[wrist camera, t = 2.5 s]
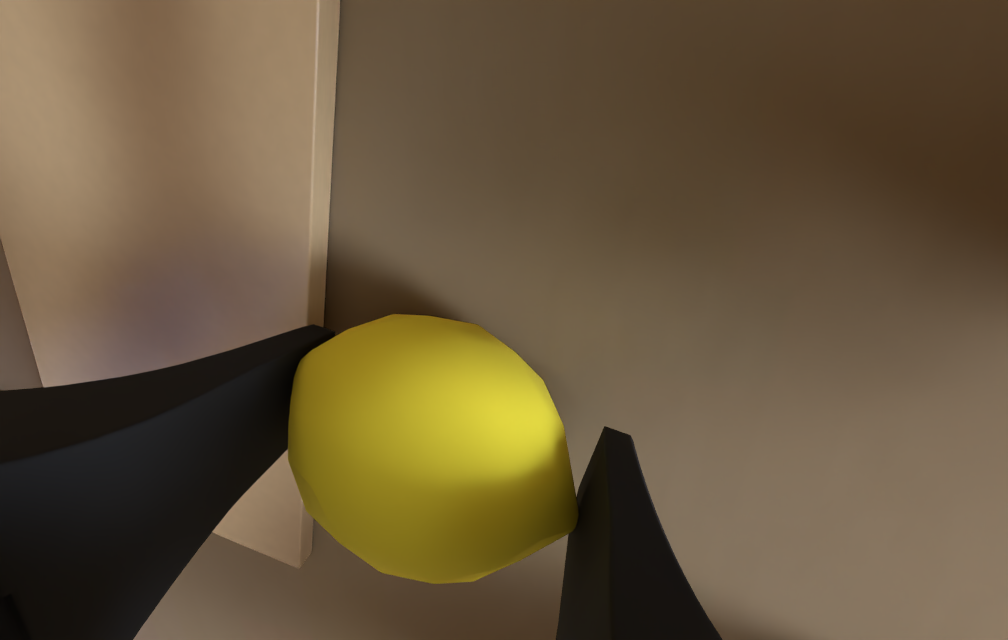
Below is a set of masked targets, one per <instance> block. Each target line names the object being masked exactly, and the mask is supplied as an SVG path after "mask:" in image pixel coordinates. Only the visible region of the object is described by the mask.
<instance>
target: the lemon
mask: <svg viewBox="0 0 1008 640" xmlns="http://www.w3.org/2000/svg"><path fill="white" fill-rule="evenodd" d="M288 461H289V464H290V467H291V470H292V473H293V475H294V478H295V481H296V484H297V487H298V489H299V492H300V495H301V498H302V501H303V503H304V506H305V509H306V511H307V512H308V513H309V514H310V515H311V516H312V517H313V518H314V519H315V520H316V521H317V522H318V523H319V524H320V525H321V526H322V527H323V528H324V529H325V530H326V531H327V532H328V533H329V534H331V535H332V536H333V537H334V538H335V539H336V540H337V541H338V542H339V543H340V544H341V545H343V546H344V547H346V548H347V549H349V550H350V551H351V552H353V553H354V554H356V555H357V556H358V557H360V558H361V559H363V560H364V561H365V562H367V563H368V564H370V565H371V566H372V567H374V568H375V569H377V570H378V571H379V572H381V573H385V574H390V575H394V576H399V577H404V578H408V579H413V580H418V581H422V582H427V583H432V584H441V583H458V582H473V581H475V580H477V579H480V578H482V577H484V576H486V575H489V574H491V573H493V572H495V571H498V570H500V569H502V568H504V567H507V566H509V565H511V564H513V563H516V562H518V561H520V560H522V559H524V558H525V557H527V556H529V555H531V554H533V553H534V552H536V551H538V550H540V549H542V548H544V547H545V546H547V545H549V544H551V543H553V542H554V541H556V540H558V539H560V538H562V537H563V536H565V535H567V534H569V533H571V532H572V531H573V530H574V529H575V527H576V524H577V520H578V515H579V513H578V505H577V499H576V494H575V488H574V482H573V476H572V470H571V465H570V459H569V453H568V447H567V442H566V436H565V430H564V426H563V423H562V421H561V419H560V417H559V414H558V412H557V410H556V408H555V405H554V403H553V401H552V399H551V397H550V394H549V392H548V390H547V388H546V385H545V383H544V381H543V380H542V379H541V378H540V377H539V376H538V375H537V374H536V373H535V372H534V371H533V370H532V369H531V367H530V366H529V365H528V364H527V363H526V362H525V361H524V360H523V359H522V358H521V357H520V356H519V355H518V354H517V353H516V352H515V351H513V350H512V349H510V348H509V347H508V346H506V345H505V344H504V343H502V342H501V341H500V340H498V339H497V338H495V337H494V336H493V335H491V334H490V333H489V332H487V331H486V330H484V329H483V328H482V327H480V326H479V325H477V324H472V323H466V322H461V321H455V320H450V319H444V318H439V317H433V316H424V315H403V314H392V315H389V316H386V317H383V318H380V319H377V320H374V321H371V322H368V323H365V324H362V325H359V326H356V327H353V328H350V329H347V330H346V331H344V332H342V333H340V334H339V335H337V336H335V337H333V338H332V339H330V340H328V341H327V342H325V343H323V344H321V345H320V346H318V347H316V348H314V349H313V350H311V351H310V352H309V353H308V354H307V355H305V356H304V357H303V358H302V359H301V360H300V362H299V364H298V367H297V370H296V373H295V375H294V379H293V387H292V394H291V401H290V413H289V424H288Z"/></svg>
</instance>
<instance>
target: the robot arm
mask: <svg viewBox="0 0 1008 640" xmlns="http://www.w3.org/2000/svg"><path fill="white" fill-rule="evenodd" d="M333 337H335V331H332V330H329V329H326V328H323V327H320V326H317V325H315V324H312V325H308V326H304V327H301V328H297V329H294V330H291V331H288V332H285V333H282V334H279V335H276V336H272V337H269V338H266V339H263V340H260V341H257V342H254V343H251V344H248V345H245V346H242V347H238V348H235V349H232V350H229V351H225V352H222V353H218V354H215V355H211V356H208V357H204V358H201V359H197V360H194V361H190V362H186V363H183V364H179V365H175V366H170V367H166V368H162V369H157V370H153V371H148V372H143V373H138V374H133V375H128V376H122V377H116V378H109V379H103V380H96V381H89V382H83V383H76V384H69V385H61V386H52V387H42V388H33V389H21V390H8V391H0V640H133V639H134V637H135V636H136V634H137V633H138V631H139V630H140V628H141V627H142V626H143V624H144V623H145V621H146V620H147V619H148V617H149V616H150V614H151V613H152V612H153V610H154V609H155V607H156V606H157V605H158V603H159V602H160V600H161V599H162V598H163V596H164V595H165V593H166V592H167V591H168V589H169V588H170V586H171V585H172V584H173V582H174V581H175V580H176V578H177V577H178V576H179V574H180V573H181V572H182V570H183V569H184V568H185V566H186V565H187V564H188V562H189V561H190V560H191V558H192V557H193V556H194V555H195V553H196V552H197V551H198V549H199V548H200V547H201V545H202V544H203V543H204V541H205V540H206V539H207V538H208V536H209V535H210V534H211V533H212V531H213V530H214V529H215V528H216V526H217V525H218V524H219V523H220V521H221V520H222V519H223V518H224V516H225V515H226V514H227V513H228V511H229V510H230V509H231V508H232V507H233V506H234V505H235V503H236V502H237V501H238V500H239V499H240V498H241V497H242V496H243V495H244V493H245V492H246V491H247V490H248V489H249V488H250V487H251V486H252V485H253V484H254V483H255V482H256V481H257V480H258V479H259V478H260V477H261V476H262V475H263V474H264V473H265V472H266V471H267V470H268V469H269V468H270V467H271V466H272V465H273V464H274V463H275V462H276V461H277V460H278V459H279V458H280V457H281V456H282V455H283V454H284V452H285V451H286V450H287V449H288V424H289V413H290V401H291V394H292V387H293V379H294V375H295V373H296V370H297V367H298V364H299V362H300V360H301V359H302V358H303V357H304V356H305V355H307V354H308V353H309V352H310V351H311V350H313V349H314V348H316V347H318V346H320V345H321V344H323V343H325V342H327V341H328V340H330V339H332V338H333ZM576 499H577V505H578V513H579V515H578V520H577V524H576V527H575V529H574V530H573V531H572V532H571V533H569V536H568V544H567V553H566V561H565V570H564V579H563V587H562V596H561V605H560V614H559V622H558V629H557V635H556V640H722V638H721V637H720V635H719V634H718V632H717V631H716V629H715V627H714V626H713V624H712V623H711V621H710V620H709V618H708V617H707V615H706V613H705V611H704V610H703V608H702V606H701V605H700V603H699V601H698V599H697V598H696V596H695V594H694V592H693V590H692V588H691V586H690V585H689V583H688V581H687V579H686V577H685V575H684V573H683V571H682V569H681V567H680V565H679V563H678V561H677V559H676V557H675V555H674V553H673V551H672V548H671V546H670V544H669V542H668V539H667V537H666V535H665V533H664V530H663V528H662V525H661V523H660V520H659V518H658V515H657V513H656V510H655V507H654V505H653V502H652V500H651V497H650V494H649V491H648V489H647V486H646V483H645V480H644V477H643V473H642V470H641V467H640V464H639V460H638V457H637V453H636V450H635V446H634V442H633V440H632V438H631V436H630V435H628V434H625V433H622V432H619V431H617V430H614V429H611V428H608V427H605V426H604V429H603V431H602V433H601V436H600V438H599V441H598V443H597V445H596V448H595V450H594V452H593V455H592V457H591V460H590V462H589V464H588V467H587V469H586V472H585V474H584V476H583V479H582V481H581V484H580V486H579V489H578V493H577V497H576Z"/></svg>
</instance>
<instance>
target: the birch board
mask: <svg viewBox="0 0 1008 640" xmlns="http://www.w3.org/2000/svg"><path fill="white" fill-rule="evenodd" d="M339 17H340V0H0V238H1V242H2V245H3V249H4V252H5V256H6V259H7V263H8V266H9V270H10V273H11V277H12V280H13V284H14V287H15V291H16V294H17V298H18V301H19V305H20V308H21V312H22V315H23V319H24V322H25V325H26V329H27V332H28V336H29V339H30V343H31V346H32V350H33V353H34V357H35V360H36V364H37V367H38V371H39V374H40V378H41V381H42V385H43V387H52V386H61V385H69V384H76V383H83V382H89V381H96V380H103V379H109V378H116V377H122V376H128V375H133V374H138V373H143V372H148V371H153V370H157V369H162V368H166V367H170V366H175V365H179V364H183V363H186V362H190V361H194V360H197V359H201V358H204V357H208V356H211V355H215V354H218V353H222V352H225V351H229V350H232V349H235V348H238V347H242V346H245V345H248V344H251V343H254V342H257V341H260V340H263V339H266V338H269V337H272V336H276V335H279V334H282V333H285V332H288V331H291V330H294V329H297V328H301V327H304V326H308V325H312V324H315V325H317V326H320V327H323V326H324V306H325V287H326V268H327V249H328V229H329V210H330V191H331V171H332V152H333V133H334V113H335V94H336V75H337V55H338V36H339ZM313 519H314V518H313V517H312V516H311V515H310V514H309V513H308V512H307V511H306V509H305V506H304V503H303V501H302V498H301V495H300V492H299V489H298V487H297V484H296V481H295V478H294V475H293V473H292V470H291V467H290V464H289V461H288V449H287V450H286V451H285V452H284V454H283V455H282V456H281V457H280V458H279V459H278V460H277V461H276V462H275V463H274V464H273V465H272V466H271V467H270V468H269V469H268V470H267V471H266V472H265V473H264V474H263V475H262V476H261V477H260V478H259V479H258V480H257V481H256V482H255V483H254V484H253V485H252V486H251V487H250V488H249V489H248V490H247V491H246V492H245V493H244V495H243V496H242V497H241V498H240V499H239V500H238V501H237V502H236V503H235V505H234V506H233V507H232V508H231V509H230V510H229V511H228V513H227V514H226V515H225V516H224V518H223V519H222V520H221V521H220V523H219V524H218V525H217V526H216V528H215V529H214V530H213V531H212V533H214V534H217V535H219V536H222V537H224V538H226V539H229V540H231V541H234V542H236V543H238V544H241V545H243V546H245V547H248V548H250V549H253V550H255V551H257V552H260V553H262V554H265V555H267V556H269V557H272V558H274V559H276V560H279V561H281V562H284V563H286V564H288V565H291V566H293V567H296V568H298V569H300V568H301V566H302V565H303V563H304V562H305V560H306V559H307V558H308V556H309V555H310V553H311V552H312V538H313Z"/></svg>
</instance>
